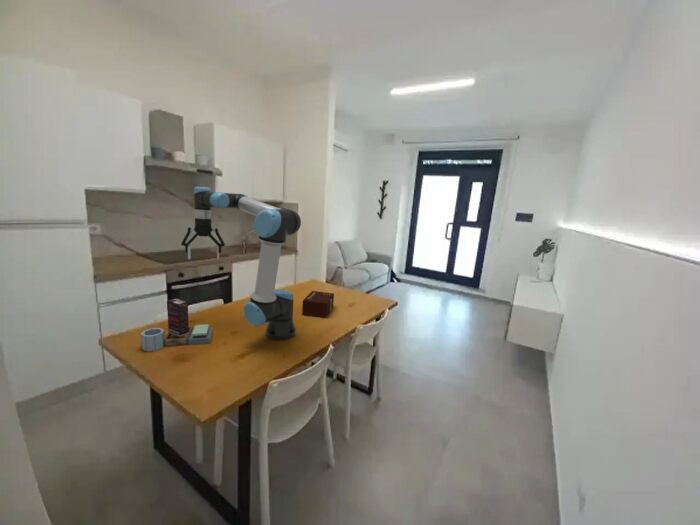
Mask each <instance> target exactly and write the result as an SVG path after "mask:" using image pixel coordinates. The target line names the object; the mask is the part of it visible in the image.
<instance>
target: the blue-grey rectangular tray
mask: <svg viewBox="0 0 700 525" xmlns="http://www.w3.org/2000/svg"><path fill="white" fill-rule="evenodd" d="M193 330H194V328H193V329H192V332H191V334H190V337H189V339H188V345H187V346H194V345H206V344H211V341H212V336H213V332H214V331H213V330H214V329H213V327H209V328H208V332H207V335H199V336H192V333H193Z"/></svg>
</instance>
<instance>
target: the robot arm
mask: <svg viewBox="0 0 700 525" xmlns="http://www.w3.org/2000/svg"><path fill="white" fill-rule="evenodd" d="M193 192H194V193H193V201H194V202H193V204H194V206H193V207H194V227H191V226H188V227H187V232H186V234H185V235H184V238H183V239H182V241H181V243H180V245H181V246H184V247H185V250H184V251H185V253H187V259H188V260H191V259H192V257H191V256H192V255H191V243H192V242H193V241H194V240H195V239H197V237H205V238H207V237H209V238H210V240H212V241H213V242H214V243H215V244H216V246H217V247H216V259H217V260H220V254H221V253H222V247H225V245H226V243H225V242H224V240H223V238H222V235H221V234H220V232H219V229H218V227H215V228H213V227H212V219H211V218H212V208H215V209H237V210H239V211H242V212H245V213H247V214H250V215H252V216H255V218H254V224H253V225H254V229H255V233H256V234H257V236H258V240H259V241H260V242H261V244H260V250H259V258H258V266H257V273H256V279H255V280H256V281H255V288H254V292H252V293H251V294H250V298H249V299H250V300H249V302H246V303H245V304H244V306H243V309H242V310H243V312H242V313H243V315H244V318H245V319H246V321H247V322H248V323H249V324H250V325H252V326H254V327H259V326H262V325H265V324H266V323H267V325H266V327H265V336H266V337H267V338H269V339H271V340H275V341H277V340H278V341H283V340H288V339H291V338H293V337H295V335H296V334H297V333H296V332H297V330H296V326H295V322H294V320H293V318H294V317H293V316H294V301H295V300H294V293H293V292H292V291H291V290H286V289H277V288H276V283H277V277H278V276H277V275H278V269H279V263H280V256H281V250H282V245H284V244H285V243H286V241H287V236H291V235H294V234H296V233H298V231H299V230H300V229H301V226H302V219H301V216H300V215H299V213H298V212H296V211H295V210H293V209H289V208H286V207H280V208H279V207H276V206H273V205H270V204H268V203H266V202H263V201H260V200H257V199H254V198H251V197H248V195H246V194H244V193H233V192H231V193H229V192H220V191H211V188H210V187H206V186H205V187H204V186H194V189H193ZM193 231H194V232H195V234H194V235H193V236H192V237H191V238H190V239H189V240H188V238H189V237H190V234H191V233H192V232H193ZM212 232H213V233H215V235H216V236H217V238H218V239H217V238H215V236H214V235H213V233H212ZM187 240H188V241H187ZM218 240H219V241H218Z"/></svg>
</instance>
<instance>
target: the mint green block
mask: <svg viewBox="0 0 700 525" xmlns="http://www.w3.org/2000/svg"><path fill="white" fill-rule="evenodd" d="M208 328H210V323H209V324H195V325H194V327H193V329H194V330H193V333H192V336H199V335H207V332H208Z"/></svg>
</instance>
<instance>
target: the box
mask: <svg viewBox="0 0 700 525" xmlns="http://www.w3.org/2000/svg"><path fill="white" fill-rule="evenodd" d="M334 299H335V293H334V292H327V291H325V292H324V291H318V290H311V292H309V293H308V295H306V297H305V298H303V300H302V311H301V312H302V313H301V316H303V315H304V316H305V317H310V316H311V318H318V317H319V318H318V319H325V318H326V319H327V318H328V316H329V315H330V313H331V312H332V311H333V308H334V301H335V300H334ZM328 314H329V315H328ZM304 316H303V317H304Z"/></svg>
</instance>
